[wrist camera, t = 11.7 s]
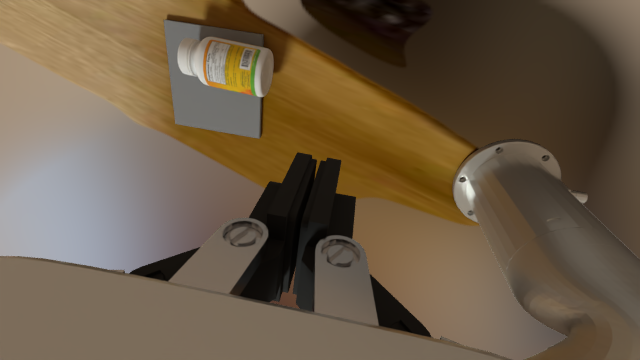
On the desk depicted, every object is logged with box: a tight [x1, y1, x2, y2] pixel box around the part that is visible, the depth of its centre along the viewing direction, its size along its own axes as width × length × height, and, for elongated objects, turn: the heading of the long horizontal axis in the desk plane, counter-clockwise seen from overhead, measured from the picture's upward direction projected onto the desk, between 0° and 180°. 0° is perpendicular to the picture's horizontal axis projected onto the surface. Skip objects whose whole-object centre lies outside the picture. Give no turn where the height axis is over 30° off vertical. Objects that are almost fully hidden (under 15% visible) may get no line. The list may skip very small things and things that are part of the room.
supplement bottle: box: [177, 37, 274, 97], centre depth 36 cm, size 5×5×10 cm
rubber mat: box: [164, 20, 264, 138], centre depth 40 cm, size 12×13×1 cm
